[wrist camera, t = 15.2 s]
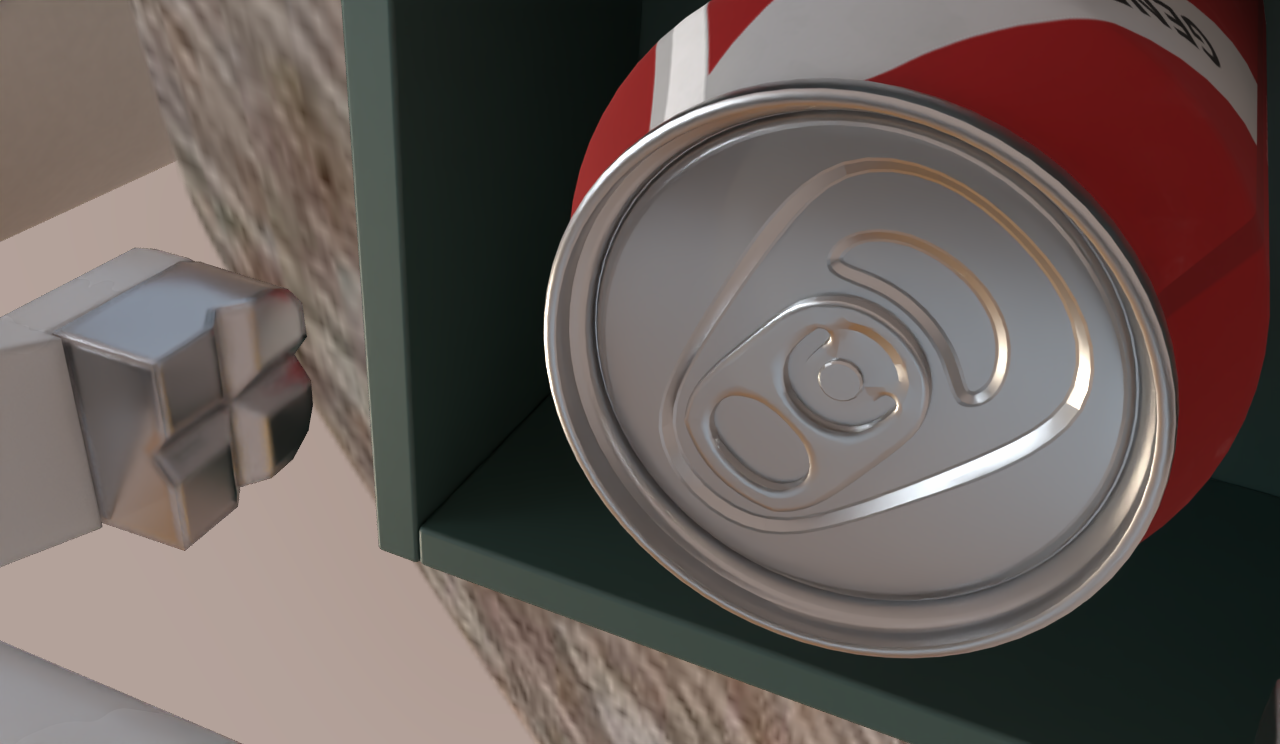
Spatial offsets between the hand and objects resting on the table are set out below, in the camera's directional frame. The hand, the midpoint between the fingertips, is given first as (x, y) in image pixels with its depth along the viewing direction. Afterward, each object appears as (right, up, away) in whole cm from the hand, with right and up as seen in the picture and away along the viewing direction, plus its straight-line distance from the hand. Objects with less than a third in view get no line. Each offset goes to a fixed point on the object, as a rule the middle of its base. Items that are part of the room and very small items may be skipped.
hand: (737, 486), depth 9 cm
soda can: (+6, +6, +10) cm, 14 cm away
